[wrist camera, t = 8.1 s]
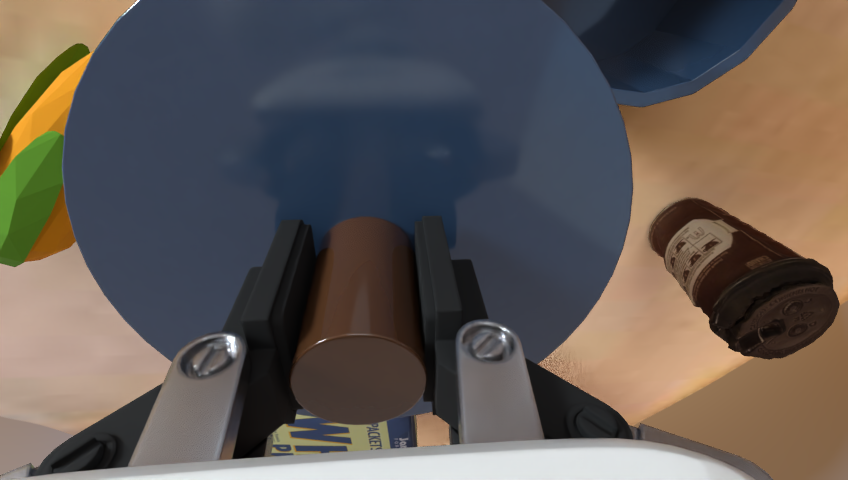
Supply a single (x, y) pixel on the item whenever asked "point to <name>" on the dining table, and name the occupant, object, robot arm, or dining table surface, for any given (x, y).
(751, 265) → the coffee cup
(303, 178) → the pot lid
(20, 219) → the corn
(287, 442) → the protein box
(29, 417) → the dining table surface
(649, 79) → the pot
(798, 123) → the dining table surface
